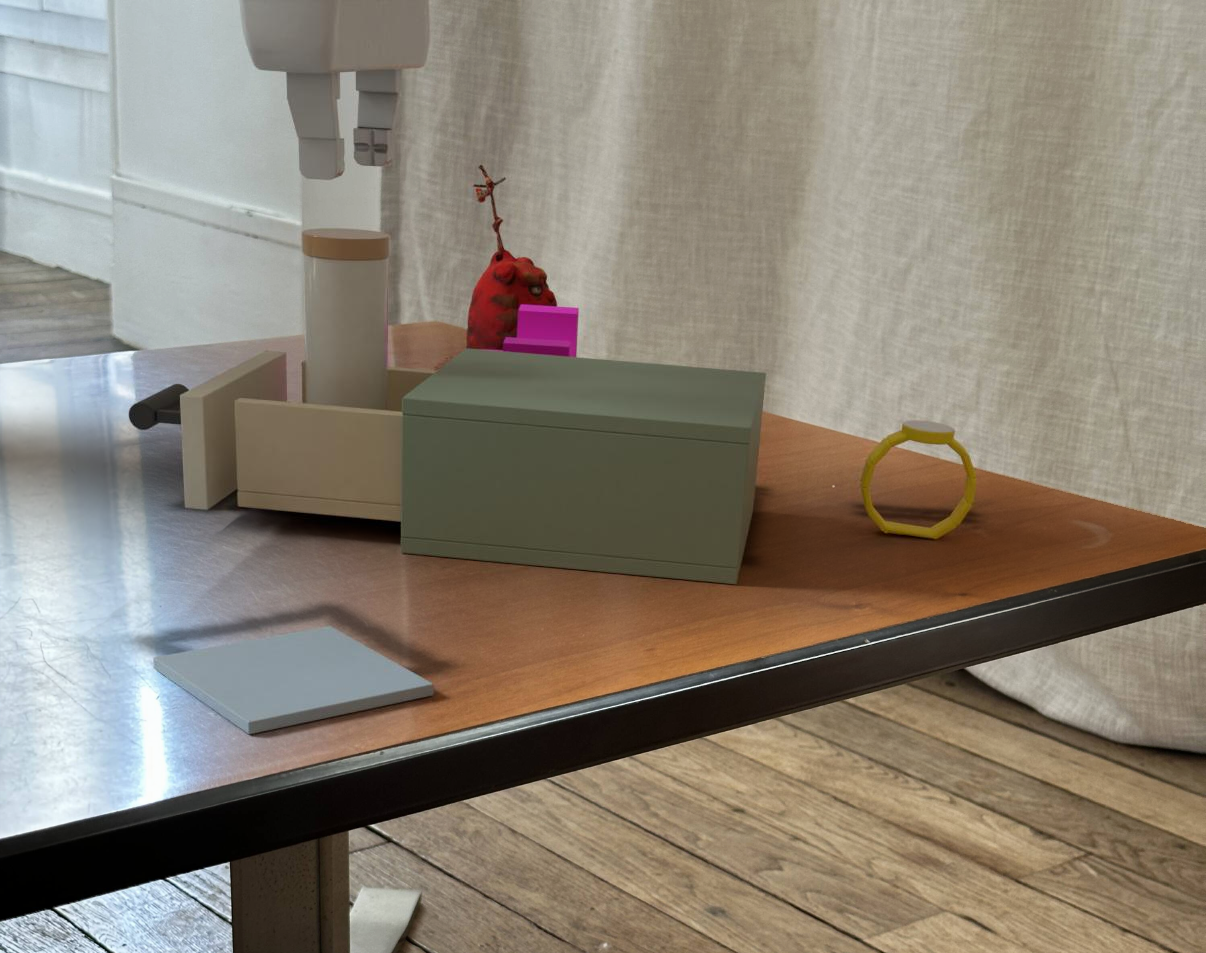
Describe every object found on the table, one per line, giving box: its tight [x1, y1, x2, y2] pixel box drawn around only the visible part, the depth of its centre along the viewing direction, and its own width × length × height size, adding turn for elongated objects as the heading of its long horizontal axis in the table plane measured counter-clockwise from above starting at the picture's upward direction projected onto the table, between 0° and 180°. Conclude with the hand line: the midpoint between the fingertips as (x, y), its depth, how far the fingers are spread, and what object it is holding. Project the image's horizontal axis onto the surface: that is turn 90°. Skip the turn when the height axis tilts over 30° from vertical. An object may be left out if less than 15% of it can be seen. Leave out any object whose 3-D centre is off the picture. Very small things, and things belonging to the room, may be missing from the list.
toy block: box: [481, 304, 580, 357], centre depth 105 cm, size 15×6×8 cm, turn 179°
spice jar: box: [300, 227, 391, 411], centre depth 88 cm, size 4×4×12 cm
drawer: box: [128, 349, 437, 523], centre depth 90 cm, size 20×13×6 cm
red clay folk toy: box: [465, 164, 558, 350], centre depth 121 cm, size 8×7×15 cm
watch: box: [859, 419, 978, 540], centre depth 91 cm, size 6×3×6 cm, turn 87°
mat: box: [153, 625, 435, 735], centre depth 67 cm, size 8×8×1 cm
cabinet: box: [400, 347, 767, 585], centre depth 88 cm, size 17×15×8 cm
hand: (349, 171), depth 84 cm, fingers open, 8 cm apart
